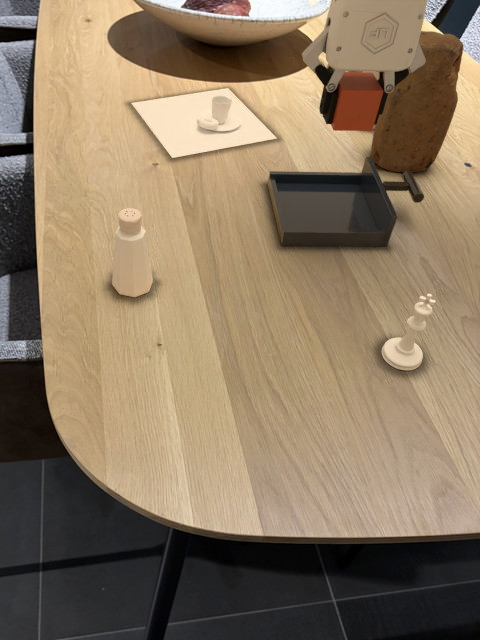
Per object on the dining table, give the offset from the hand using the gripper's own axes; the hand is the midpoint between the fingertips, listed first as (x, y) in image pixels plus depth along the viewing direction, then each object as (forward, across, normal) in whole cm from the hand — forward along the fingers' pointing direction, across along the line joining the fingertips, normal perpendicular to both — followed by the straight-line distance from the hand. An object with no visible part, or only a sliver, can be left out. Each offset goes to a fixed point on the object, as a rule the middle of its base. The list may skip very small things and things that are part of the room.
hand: (349, 117), depth 76 cm
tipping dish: (+17, +4, +4) cm, 18 cm away
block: (+18, +18, +19) cm, 31 cm away
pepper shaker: (+18, -28, -11) cm, 35 cm away
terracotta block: (0, 0, 0) cm, 0 cm away
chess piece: (+18, +5, -25) cm, 31 cm away
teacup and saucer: (+18, -15, +32) cm, 40 cm away
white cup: (+18, +16, +33) cm, 41 cm away
